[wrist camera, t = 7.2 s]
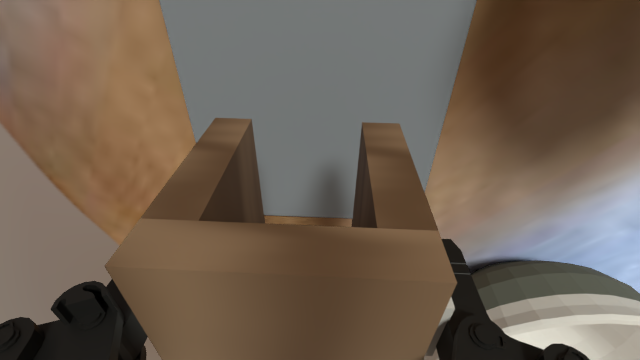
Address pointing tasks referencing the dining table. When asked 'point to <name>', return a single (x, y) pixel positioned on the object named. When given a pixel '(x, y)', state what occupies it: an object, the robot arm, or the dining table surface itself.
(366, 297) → the notched open box
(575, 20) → the dining table surface
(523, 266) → the bowl
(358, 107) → the mat
